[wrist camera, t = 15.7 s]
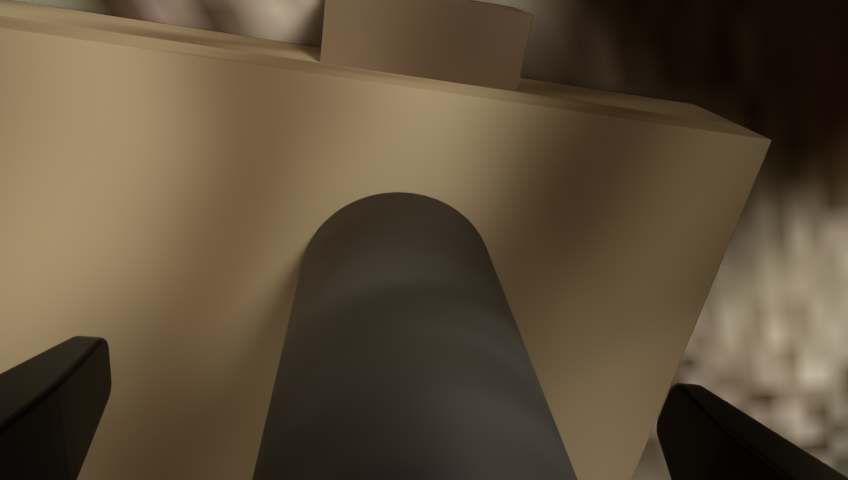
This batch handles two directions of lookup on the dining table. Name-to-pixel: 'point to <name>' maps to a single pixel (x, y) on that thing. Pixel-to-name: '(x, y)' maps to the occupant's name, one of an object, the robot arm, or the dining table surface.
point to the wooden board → (329, 192)
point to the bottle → (405, 358)
